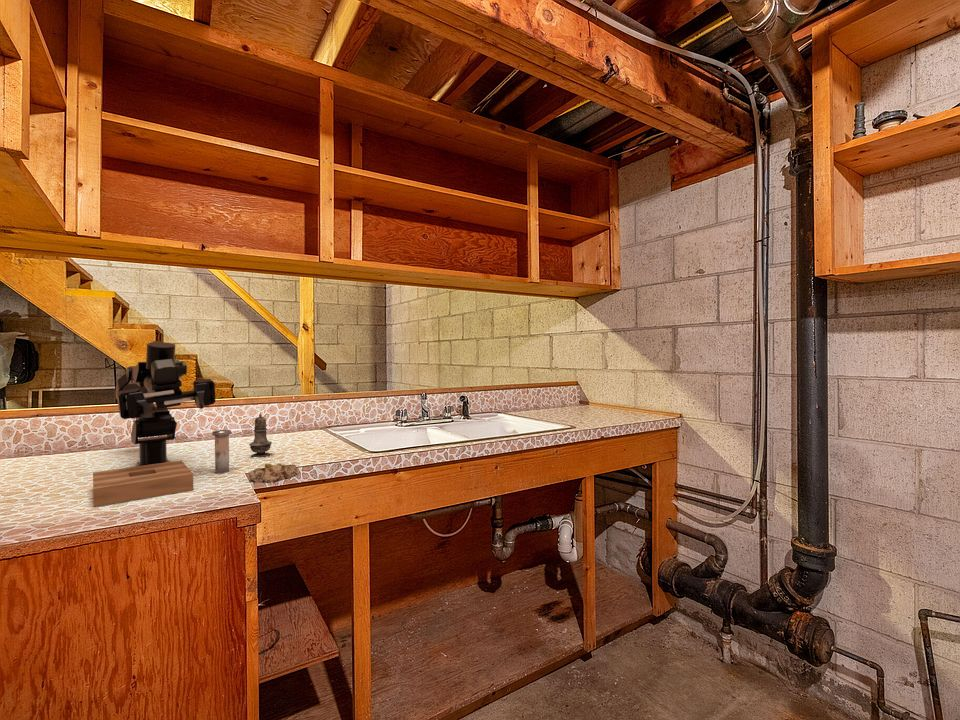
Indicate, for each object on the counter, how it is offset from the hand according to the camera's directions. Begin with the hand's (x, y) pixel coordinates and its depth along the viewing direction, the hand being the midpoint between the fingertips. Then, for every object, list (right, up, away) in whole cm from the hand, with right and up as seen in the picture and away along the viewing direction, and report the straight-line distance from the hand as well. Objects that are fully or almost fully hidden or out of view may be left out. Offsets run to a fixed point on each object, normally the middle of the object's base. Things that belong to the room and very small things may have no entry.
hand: (178, 410), depth 100 cm
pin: (+4, -16, +10) cm, 19 cm away
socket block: (-5, -16, -4) cm, 18 cm away
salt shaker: (+5, -16, +27) cm, 32 cm away
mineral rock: (+19, -17, +5) cm, 26 cm away
